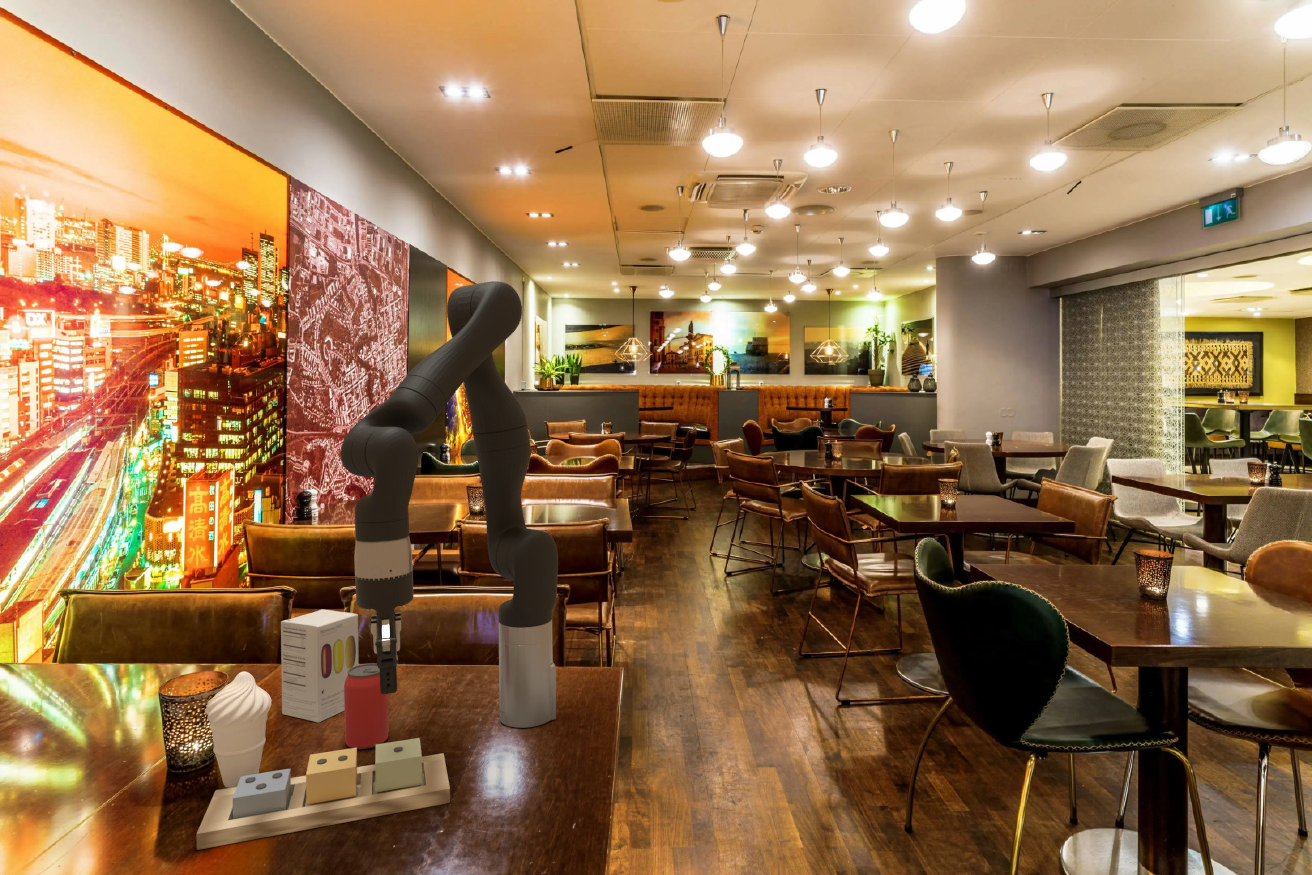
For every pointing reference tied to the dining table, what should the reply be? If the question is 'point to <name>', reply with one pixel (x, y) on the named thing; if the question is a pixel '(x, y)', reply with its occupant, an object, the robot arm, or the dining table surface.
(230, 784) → the soft serve ice cream cone
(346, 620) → the supplement box
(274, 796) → the tile three
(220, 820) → the board
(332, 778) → the tile two
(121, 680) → the dining table surface
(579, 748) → the dining table surface
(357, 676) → the beer can
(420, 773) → the tile one
